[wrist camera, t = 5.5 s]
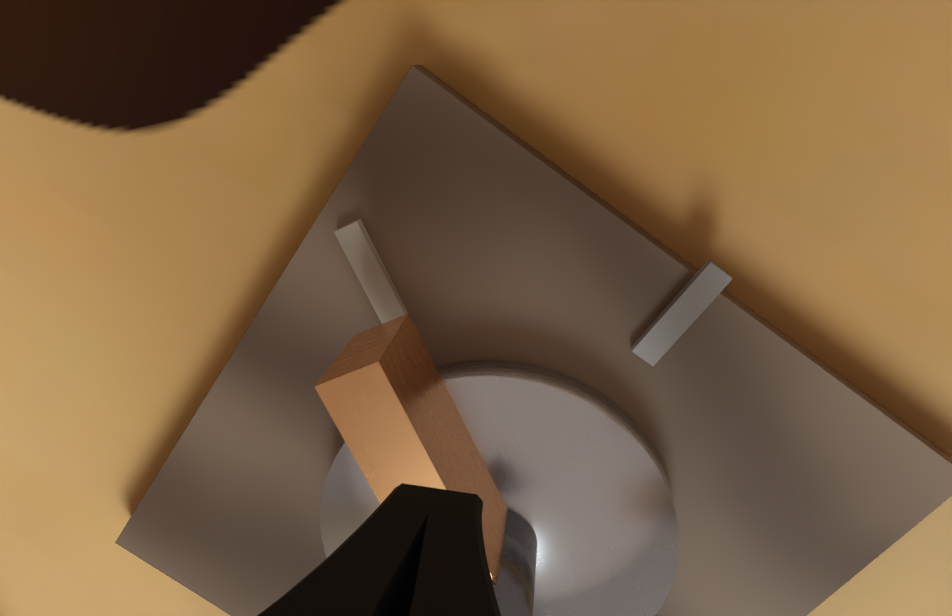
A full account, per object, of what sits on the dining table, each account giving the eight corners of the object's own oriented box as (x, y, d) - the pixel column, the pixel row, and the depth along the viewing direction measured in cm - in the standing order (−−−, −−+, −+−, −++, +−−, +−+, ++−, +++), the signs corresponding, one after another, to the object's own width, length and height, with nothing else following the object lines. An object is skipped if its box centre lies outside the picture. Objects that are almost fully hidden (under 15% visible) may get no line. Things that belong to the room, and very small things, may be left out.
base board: (558, 792, 26) (557, 829, 25) (132, 524, 24) (109, 548, 23) (967, 446, 20) (993, 472, 18) (430, 47, 18) (421, 47, 17)
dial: (721, 603, 21) (759, 737, 17) (422, 680, 23) (390, 814, 19) (565, 237, 18) (563, 292, 14) (239, 370, 20) (155, 451, 16)
